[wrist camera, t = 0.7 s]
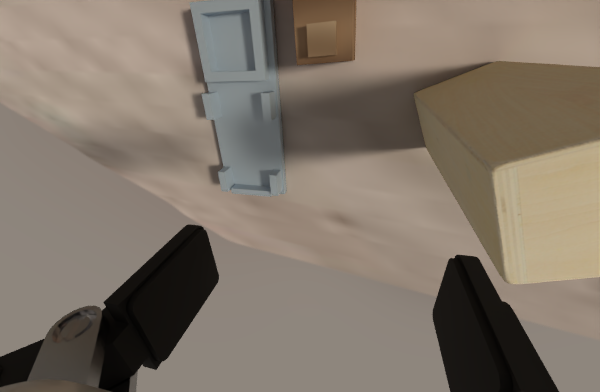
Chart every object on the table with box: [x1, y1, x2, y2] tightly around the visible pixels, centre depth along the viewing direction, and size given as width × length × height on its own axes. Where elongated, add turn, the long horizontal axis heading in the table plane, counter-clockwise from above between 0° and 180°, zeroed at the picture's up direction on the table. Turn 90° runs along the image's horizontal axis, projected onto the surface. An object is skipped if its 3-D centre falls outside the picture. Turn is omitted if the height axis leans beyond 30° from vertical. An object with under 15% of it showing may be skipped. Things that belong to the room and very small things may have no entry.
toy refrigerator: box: [414, 61, 600, 284], centre depth 18 cm, size 8×7×21 cm
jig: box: [190, 0, 287, 197], centre depth 31 cm, size 22×9×3 cm, turn 2°
